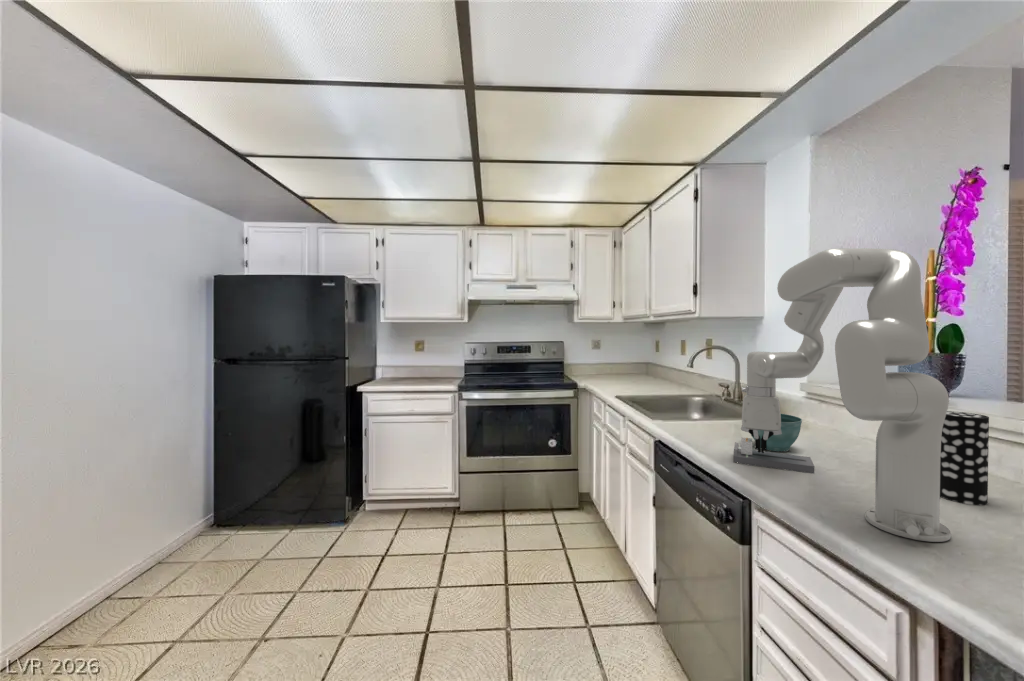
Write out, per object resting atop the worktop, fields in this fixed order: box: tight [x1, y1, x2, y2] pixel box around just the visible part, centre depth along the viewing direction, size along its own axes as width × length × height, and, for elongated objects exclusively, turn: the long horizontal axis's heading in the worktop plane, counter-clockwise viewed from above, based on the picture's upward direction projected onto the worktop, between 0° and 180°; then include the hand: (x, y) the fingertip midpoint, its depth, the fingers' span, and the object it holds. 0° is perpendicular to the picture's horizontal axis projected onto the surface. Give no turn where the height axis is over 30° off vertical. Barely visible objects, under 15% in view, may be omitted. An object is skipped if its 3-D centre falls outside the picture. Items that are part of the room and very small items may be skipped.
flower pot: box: [750, 413, 803, 453], centre depth 141 cm, size 16×16×11 cm
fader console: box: [733, 442, 815, 474], centre depth 126 cm, size 10×20×4 cm, turn 60°
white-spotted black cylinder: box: [940, 410, 990, 506], centre depth 99 cm, size 8×8×20 cm
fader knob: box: [740, 437, 753, 455], centre depth 129 cm, size 5×3×4 cm, turn 150°
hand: (760, 451), depth 127 cm, fingers closed
